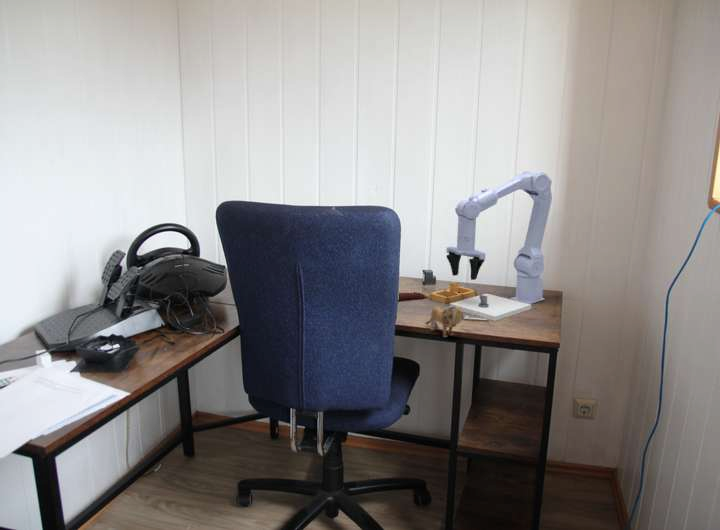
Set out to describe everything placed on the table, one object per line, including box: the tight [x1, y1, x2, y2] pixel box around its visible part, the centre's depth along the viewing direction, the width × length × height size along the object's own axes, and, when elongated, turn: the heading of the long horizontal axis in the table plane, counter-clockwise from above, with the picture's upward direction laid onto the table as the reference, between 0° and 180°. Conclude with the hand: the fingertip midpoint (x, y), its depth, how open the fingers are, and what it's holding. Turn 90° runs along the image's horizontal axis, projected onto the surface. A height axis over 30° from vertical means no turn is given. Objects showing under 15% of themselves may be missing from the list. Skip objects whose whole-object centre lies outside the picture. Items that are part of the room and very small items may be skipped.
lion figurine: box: [425, 306, 466, 338], centre depth 153 cm, size 15×5×9 cm, turn 34°
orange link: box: [428, 281, 478, 305], centre depth 189 cm, size 16×8×6 cm, turn 131°
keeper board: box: [448, 293, 532, 322], centre depth 176 cm, size 20×18×5 cm
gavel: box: [398, 292, 429, 301], centre depth 186 cm, size 21×5×10 cm
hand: (464, 277), depth 178 cm, fingers open, 7 cm apart
